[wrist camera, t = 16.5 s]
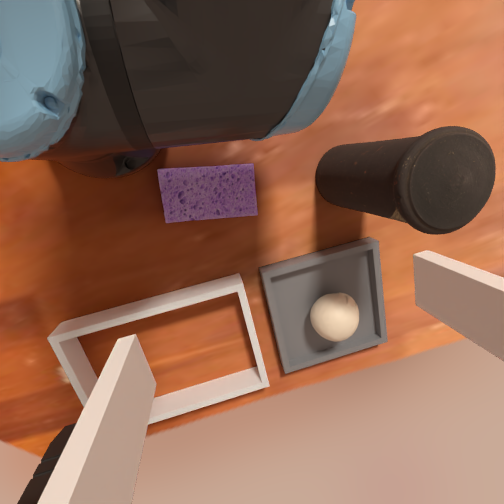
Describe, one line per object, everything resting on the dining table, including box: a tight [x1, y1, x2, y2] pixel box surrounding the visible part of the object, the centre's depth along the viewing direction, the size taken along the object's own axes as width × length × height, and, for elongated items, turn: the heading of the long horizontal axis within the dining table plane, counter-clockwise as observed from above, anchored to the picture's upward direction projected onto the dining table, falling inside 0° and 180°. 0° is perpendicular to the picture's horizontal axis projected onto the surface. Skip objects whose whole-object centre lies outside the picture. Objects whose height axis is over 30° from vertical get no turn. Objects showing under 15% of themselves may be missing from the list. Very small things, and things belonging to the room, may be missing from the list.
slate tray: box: [259, 237, 388, 374], centre depth 46 cm, size 18×18×2 cm
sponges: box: [157, 163, 258, 223], centre depth 39 cm, size 7×13×2 cm, turn 94°
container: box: [316, 126, 495, 234], centre depth 32 cm, size 9×9×20 cm
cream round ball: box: [310, 292, 359, 342], centre depth 43 cm, size 7×7×7 cm
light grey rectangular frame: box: [47, 273, 269, 425], centre depth 43 cm, size 26×18×4 cm
